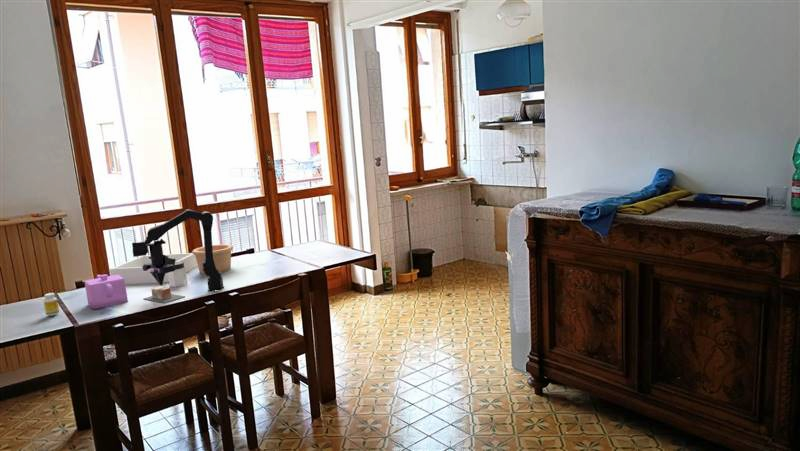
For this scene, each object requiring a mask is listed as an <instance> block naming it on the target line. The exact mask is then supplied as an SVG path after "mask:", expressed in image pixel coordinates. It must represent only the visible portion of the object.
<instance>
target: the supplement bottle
mask: <svg viewBox="0 0 800 451" xmlns="http://www.w3.org/2000/svg"><path fill="white" fill-rule="evenodd" d="M55 296H56V295H55V292H48V293H45V294H44V299H43V305H44V306H43V307H44V311H45V315H46V316H47V315H48V316H49V315H51V316H54V315H55V316H56V315H58V314H60V308H59V304H58V298H57V297H55Z"/></svg>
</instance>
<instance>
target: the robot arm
mask: <svg viewBox="0 0 800 451" xmlns="http://www.w3.org/2000/svg"><path fill="white" fill-rule="evenodd" d="M189 219H191V220H195V221H200V223H201V227H202V231H203V233H202V234H203V244H204V246H203V247H204V248H205V261H202V265H203V266H202V270H203V271H204V273H205V275H204V276H207V277H208V278H207V288H208V289H207V292H216V291H215V290H221V289H222V290H223V289H225V288H224V287H225V286H224V281H223V280H224V279H223V276H222V273H220V271H218V270H217V269H216V266H215V263H214V259H213V248H212V245H213V236H212V234H213V233H212V229H213V224H214V216H213V214H212V213H211V212H209V211H203V212H202V211H197V210H191V209H189V208H188V209H185V210H184V211H183V212H181V213H179V214H177V215H176V216H175V217H172V218H170V219H169V220H167V221H166V222H164V223H161V224H158V225H156V226H153V227H151V228H149V229H148V230H147V234H146V238H145V239H144V241H137V242H132V243H131V245H132V246H131V248H132V257H133V258H138V257H140V256H145V255H148V254H149V255H150V257H149V259H151V263H149V264H145V265H143V271H147V270H148V269H151V272H150V273H151V274H152V275H153V277H154V278H155V279H156V281H157V282H158V285H159V286H163V284H164V282H163V280H164V276H165V274H166V273H169V272H172V271H175V266H173V265H175V260H176V259H172V258H168V256H166V255H163V254H164V250H163V249H164V248H163V245H164V244H166V243H167V242H166V241H165V240H164V239H163V238H162V237H163V236H165V234H166V233H167V232H169V231H170V230H172V229H173V228H175V227H177V226H178V225H180V224H182V223H184V222H185V221H187V220H189ZM159 239H160V240H159ZM222 290H221V291H222Z"/></svg>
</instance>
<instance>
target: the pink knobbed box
mask: <svg viewBox="0 0 800 451" xmlns="http://www.w3.org/2000/svg"><path fill="white" fill-rule="evenodd" d="M84 287H85V291H86V292H85V293H86V298H87V305H88V304H89V305H88V306H89V307H90V306H91V307H90V308H91V309H92V310H97V309H103V308H106V307H110V306H115V305H119V304H122V303H124V304H125V303H128V302H129V300H128V293H127V285H126V284H125V279H124V278H122V277H121V276H119V275H113V276H111V275H108V274H97V275H96V278H92V279H88V280H84Z"/></svg>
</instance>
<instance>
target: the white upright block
mask: <svg viewBox="0 0 800 451" xmlns="http://www.w3.org/2000/svg"><path fill="white" fill-rule="evenodd" d="M173 266H175V271H172V272H169V273H168V278H169V282H168V283H169V285H168V286H169V287H171V286H172V287H173V288H177V287H176V286H178V287H181V286H182V285H183V286H185V285H186V284H188V279H187V273H186V270H185V267H184V262H175V265H173Z"/></svg>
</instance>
